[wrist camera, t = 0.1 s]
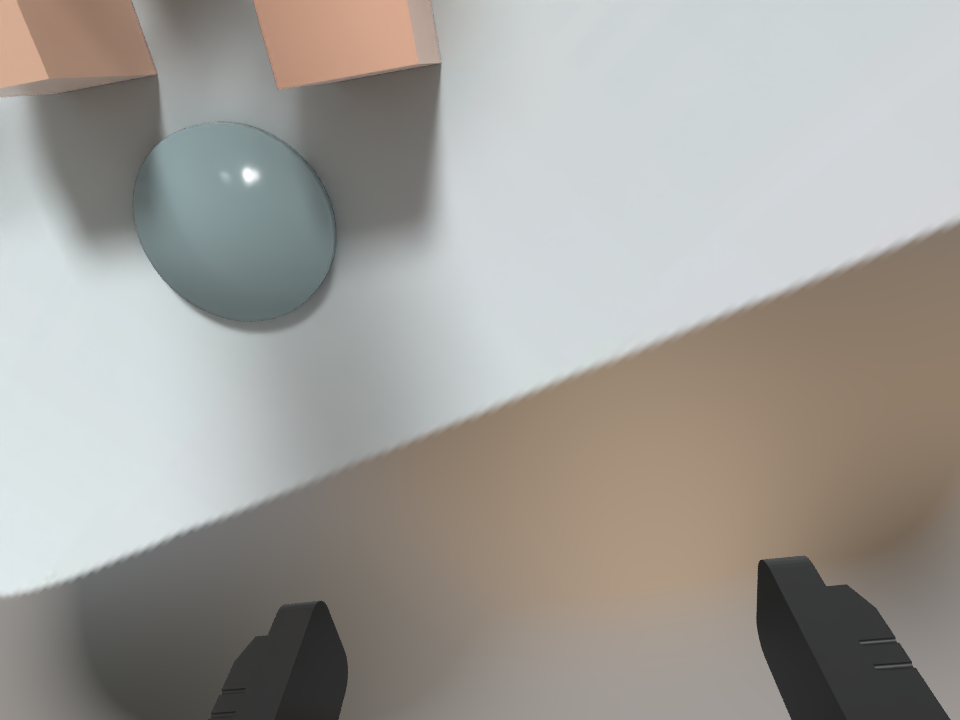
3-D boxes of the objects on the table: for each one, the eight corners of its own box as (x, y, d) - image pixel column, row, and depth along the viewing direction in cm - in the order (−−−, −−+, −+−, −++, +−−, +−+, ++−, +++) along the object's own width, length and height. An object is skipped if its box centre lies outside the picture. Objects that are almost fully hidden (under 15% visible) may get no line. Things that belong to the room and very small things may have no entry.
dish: (111, 139, 36) (99, 142, 35) (305, 105, 35) (298, 106, 34) (185, 325, 42) (176, 332, 40) (356, 301, 40) (352, 308, 39)
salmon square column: (4, -32, 33) (-162, -62, 25) (111, -55, 32) (-24, -94, 24) (57, 93, 35) (-78, 103, 27) (157, 74, 35) (49, 78, 27)
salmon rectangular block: (301, -48, 32) (229, -84, 24) (418, -72, 31) (385, -118, 23) (332, 82, 34) (277, 89, 26) (441, 62, 34) (418, 63, 26)
